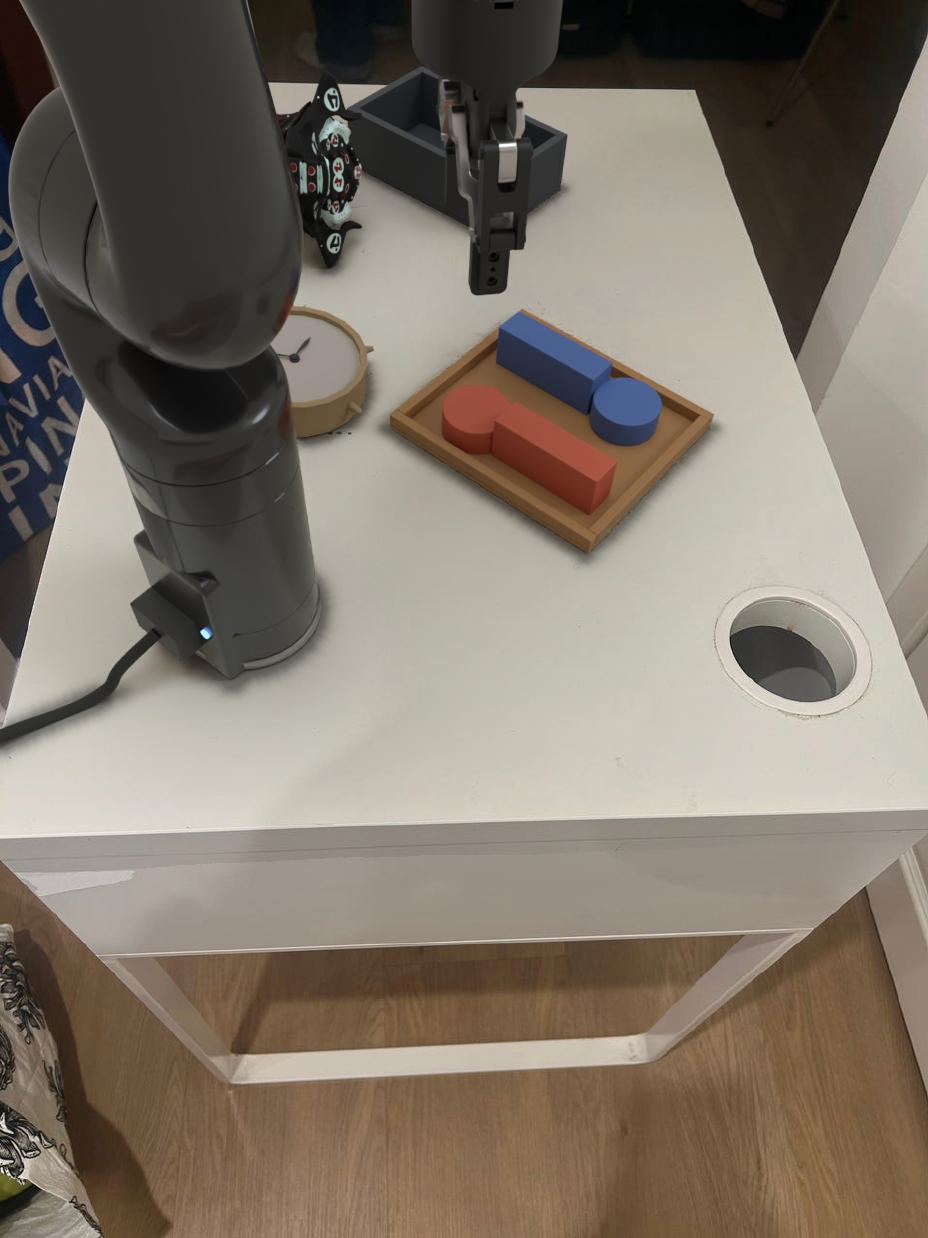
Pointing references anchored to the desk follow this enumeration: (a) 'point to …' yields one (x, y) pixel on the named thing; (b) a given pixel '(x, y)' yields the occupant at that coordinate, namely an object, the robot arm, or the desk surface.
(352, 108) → the bin
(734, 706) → the desk surface
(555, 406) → the tray
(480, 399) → the red spoon
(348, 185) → the figurine
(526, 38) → the robot arm
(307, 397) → the alarm clock
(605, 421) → the blue spoon
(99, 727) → the desk surface
